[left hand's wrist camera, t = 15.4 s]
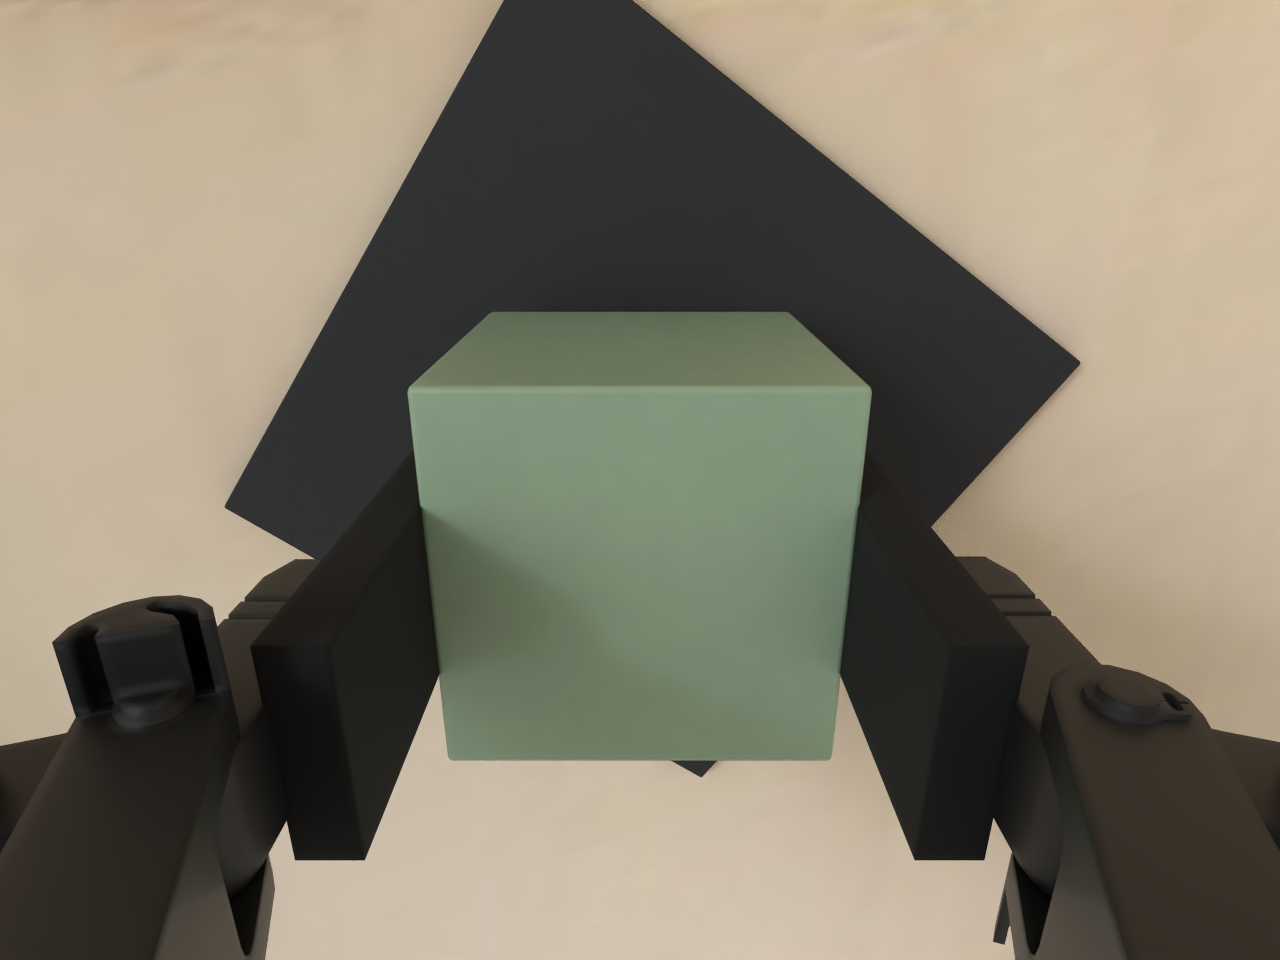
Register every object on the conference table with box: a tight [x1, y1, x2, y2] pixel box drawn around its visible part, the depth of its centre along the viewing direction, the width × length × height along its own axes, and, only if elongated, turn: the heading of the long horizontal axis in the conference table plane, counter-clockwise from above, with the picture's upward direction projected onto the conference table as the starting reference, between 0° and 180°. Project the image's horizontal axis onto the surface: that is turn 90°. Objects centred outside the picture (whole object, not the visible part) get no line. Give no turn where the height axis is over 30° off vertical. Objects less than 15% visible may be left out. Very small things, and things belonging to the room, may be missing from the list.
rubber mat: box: [225, 0, 1080, 777], centre depth 18 cm, size 14×14×1 cm
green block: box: [408, 312, 872, 760], centre depth 14 cm, size 6×6×6 cm
